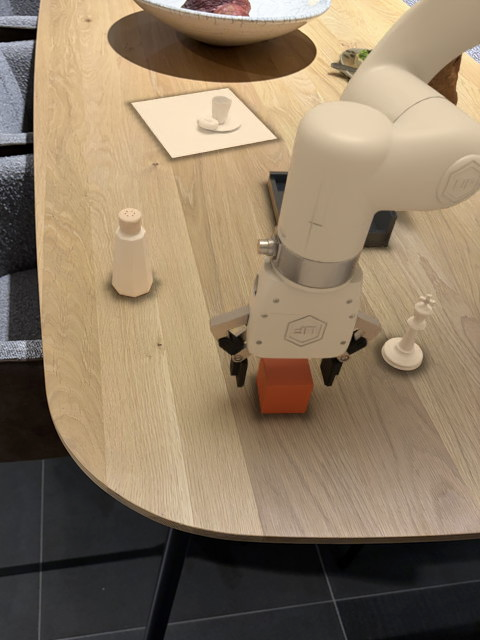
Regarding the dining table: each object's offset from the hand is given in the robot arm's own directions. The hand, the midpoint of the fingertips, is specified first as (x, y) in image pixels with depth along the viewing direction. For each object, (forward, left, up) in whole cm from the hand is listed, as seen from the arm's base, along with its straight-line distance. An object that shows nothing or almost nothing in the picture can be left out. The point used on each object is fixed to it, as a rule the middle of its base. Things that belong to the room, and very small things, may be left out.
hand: (282, 376), depth 66 cm
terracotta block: (0, 0, -4) cm, 4 cm away
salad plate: (-34, -84, -4) cm, 91 cm away
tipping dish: (-15, -35, -4) cm, 38 cm away
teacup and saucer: (+5, -63, -4) cm, 63 cm away
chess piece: (-16, -6, -4) cm, 18 cm away
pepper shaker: (+17, -19, -4) cm, 26 cm away
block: (-28, -50, -4) cm, 58 cm away
